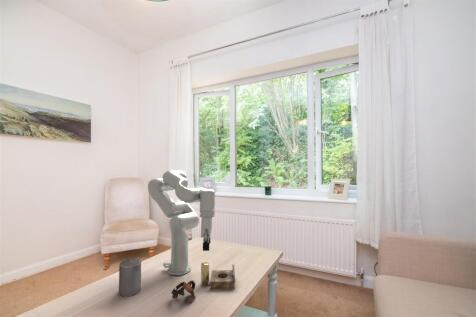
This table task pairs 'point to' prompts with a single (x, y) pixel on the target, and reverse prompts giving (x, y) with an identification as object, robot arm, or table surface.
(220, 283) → the jig
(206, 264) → the gold cylinder
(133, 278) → the pillar candle
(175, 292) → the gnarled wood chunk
